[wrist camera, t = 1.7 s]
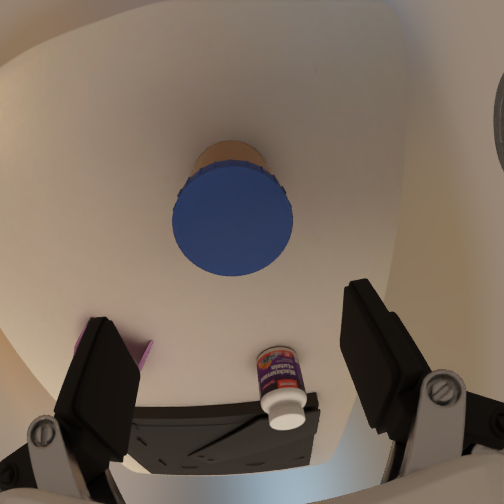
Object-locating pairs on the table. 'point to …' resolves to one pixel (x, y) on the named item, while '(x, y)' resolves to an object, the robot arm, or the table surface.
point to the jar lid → (232, 218)
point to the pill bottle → (281, 388)
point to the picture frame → (219, 439)
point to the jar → (229, 155)
